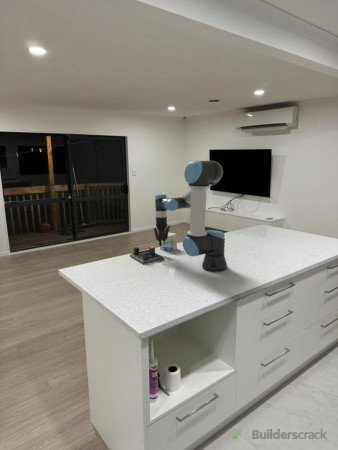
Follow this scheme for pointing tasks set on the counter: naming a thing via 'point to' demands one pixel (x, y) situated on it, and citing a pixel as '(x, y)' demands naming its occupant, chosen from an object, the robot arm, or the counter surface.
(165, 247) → the ink box
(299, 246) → the counter surface
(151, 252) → the handle
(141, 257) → the panel
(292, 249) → the counter surface
